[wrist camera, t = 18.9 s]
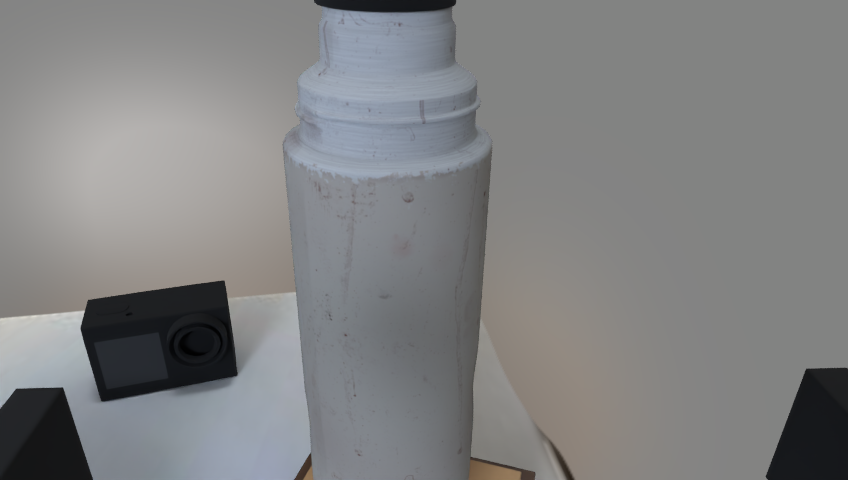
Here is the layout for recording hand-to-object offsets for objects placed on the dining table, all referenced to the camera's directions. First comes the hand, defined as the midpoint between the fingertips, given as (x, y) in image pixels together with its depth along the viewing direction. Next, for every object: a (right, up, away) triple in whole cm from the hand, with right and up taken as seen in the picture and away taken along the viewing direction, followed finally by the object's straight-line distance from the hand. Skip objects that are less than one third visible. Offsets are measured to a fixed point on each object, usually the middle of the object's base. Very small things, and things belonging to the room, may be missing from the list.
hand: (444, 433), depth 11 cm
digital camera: (-21, -8, +40) cm, 46 cm away
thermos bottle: (-2, -13, +23) cm, 26 cm away
